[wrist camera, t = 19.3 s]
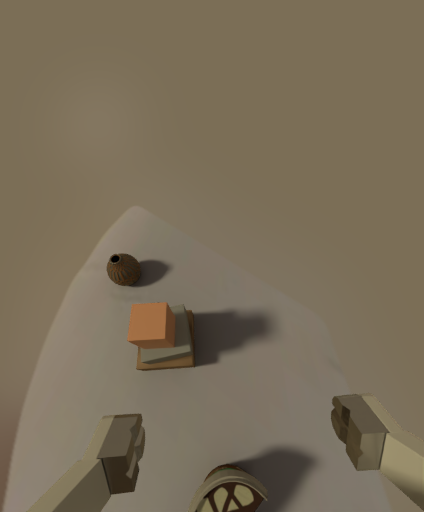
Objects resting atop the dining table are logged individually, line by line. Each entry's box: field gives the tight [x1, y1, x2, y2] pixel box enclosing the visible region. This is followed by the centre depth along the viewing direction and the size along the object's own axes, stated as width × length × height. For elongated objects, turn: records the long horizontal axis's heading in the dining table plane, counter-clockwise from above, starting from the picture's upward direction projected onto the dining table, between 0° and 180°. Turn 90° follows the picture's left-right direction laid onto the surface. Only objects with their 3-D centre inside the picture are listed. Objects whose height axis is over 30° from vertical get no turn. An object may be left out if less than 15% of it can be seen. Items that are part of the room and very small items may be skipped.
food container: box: [188, 464, 268, 512], centre depth 31 cm, size 12×6×10 cm, turn 132°
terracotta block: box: [127, 302, 175, 349], centre depth 35 cm, size 5×5×8 cm
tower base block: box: [136, 310, 195, 371], centre depth 45 cm, size 10×10×5 cm
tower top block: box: [140, 304, 193, 365], centre depth 40 cm, size 8×8×5 cm
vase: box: [107, 254, 141, 286], centre depth 50 cm, size 7×7×9 cm
